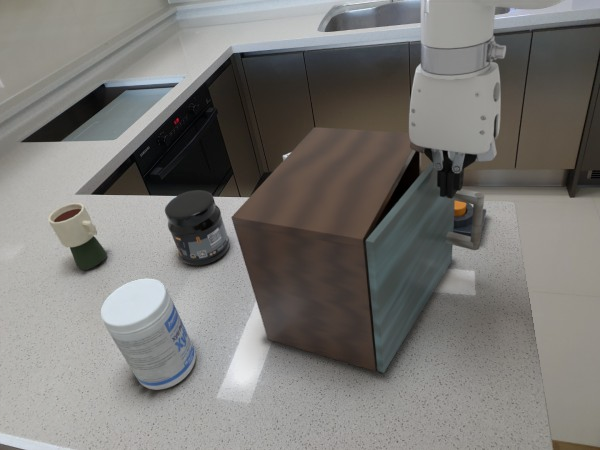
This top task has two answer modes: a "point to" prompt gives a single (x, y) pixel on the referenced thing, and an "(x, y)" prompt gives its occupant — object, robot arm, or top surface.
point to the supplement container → (197, 227)
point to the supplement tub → (149, 333)
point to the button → (459, 209)
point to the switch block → (466, 221)
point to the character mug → (77, 234)
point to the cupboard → (323, 238)
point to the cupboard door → (413, 257)
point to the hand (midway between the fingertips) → (449, 192)
